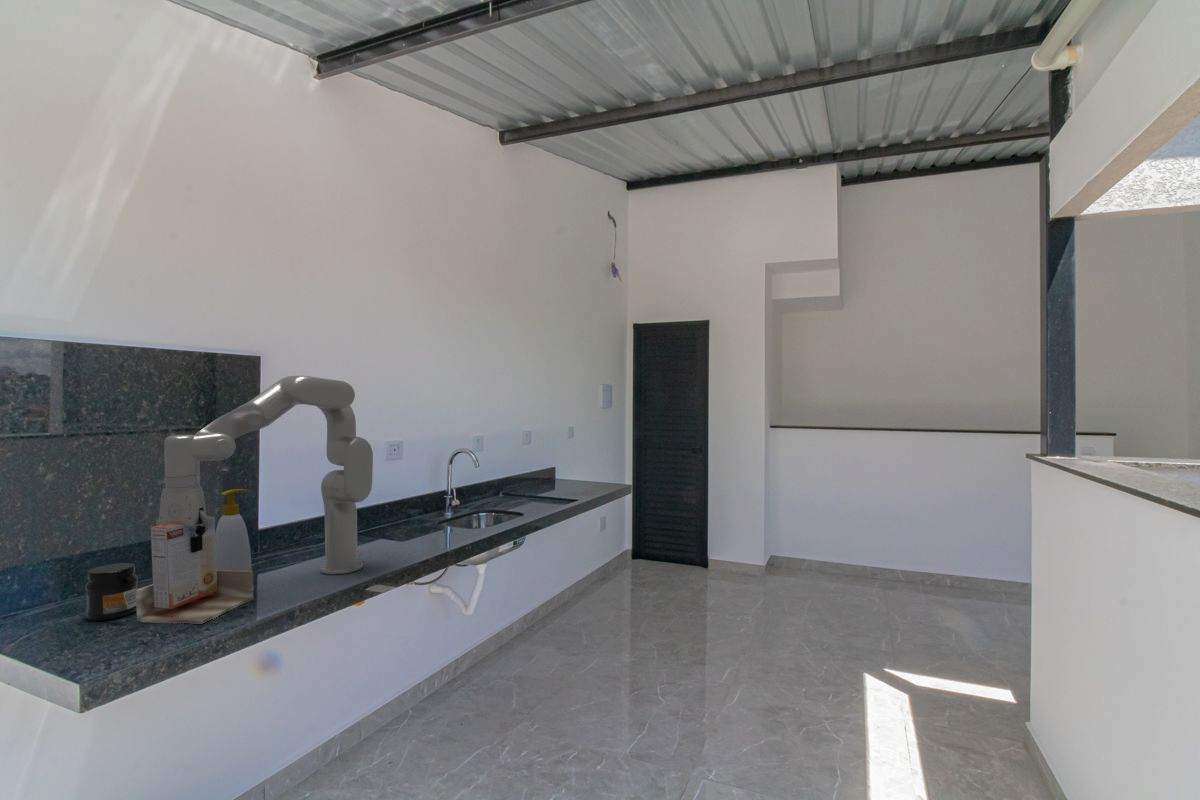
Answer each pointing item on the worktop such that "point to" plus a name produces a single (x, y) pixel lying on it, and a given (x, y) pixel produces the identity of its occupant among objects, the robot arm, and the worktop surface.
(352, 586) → the worktop surface
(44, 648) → the worktop surface
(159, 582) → the cracker box
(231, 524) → the soap bottle
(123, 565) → the supplement container
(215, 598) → the beige tray
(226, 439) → the robot arm
